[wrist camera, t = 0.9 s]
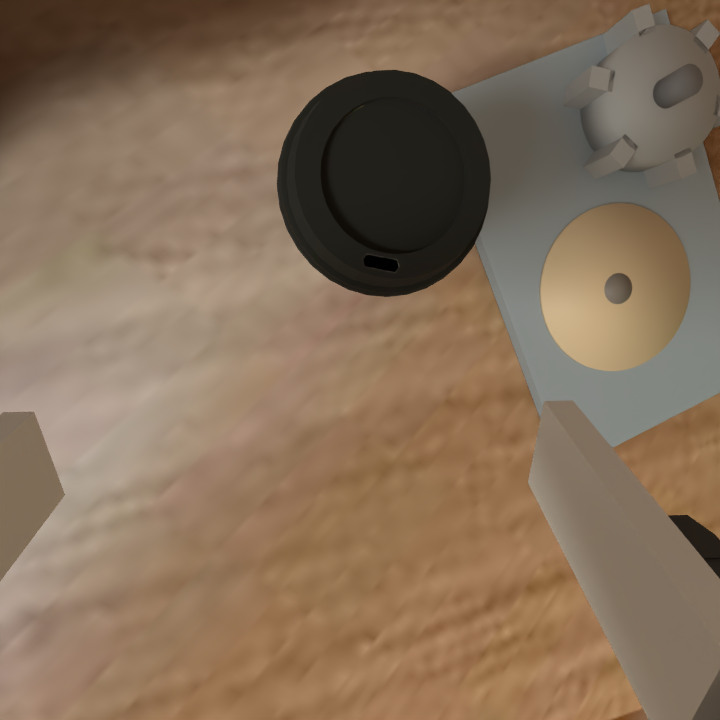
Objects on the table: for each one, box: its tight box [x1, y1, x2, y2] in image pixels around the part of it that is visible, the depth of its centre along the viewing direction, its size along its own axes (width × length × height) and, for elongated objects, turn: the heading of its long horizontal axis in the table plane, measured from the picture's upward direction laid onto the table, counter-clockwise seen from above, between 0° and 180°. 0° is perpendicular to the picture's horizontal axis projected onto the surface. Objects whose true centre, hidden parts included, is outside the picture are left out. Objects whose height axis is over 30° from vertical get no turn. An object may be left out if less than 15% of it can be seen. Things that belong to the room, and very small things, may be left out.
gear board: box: [452, 4, 720, 448], centre depth 35 cm, size 30×20×6 cm
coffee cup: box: [277, 70, 491, 297], centre depth 27 cm, size 10×10×15 cm
